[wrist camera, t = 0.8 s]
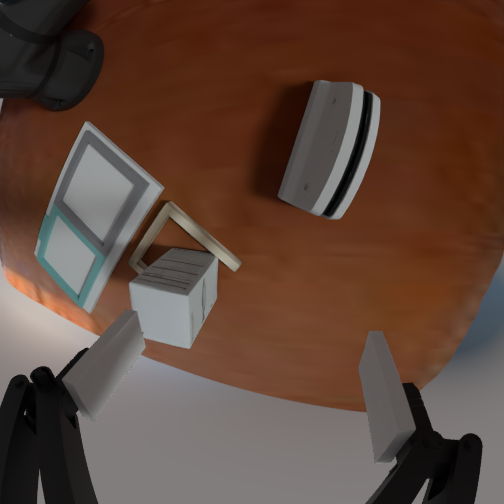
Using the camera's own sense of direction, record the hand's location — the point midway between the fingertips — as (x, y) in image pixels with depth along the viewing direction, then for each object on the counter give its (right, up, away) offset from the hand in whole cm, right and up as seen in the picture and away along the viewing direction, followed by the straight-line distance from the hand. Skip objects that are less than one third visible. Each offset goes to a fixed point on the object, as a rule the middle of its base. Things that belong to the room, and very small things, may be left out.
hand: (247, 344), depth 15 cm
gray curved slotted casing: (+10, +18, +18) cm, 27 cm away
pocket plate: (-28, +9, +27) cm, 40 cm away
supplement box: (-8, +2, +26) cm, 27 cm away
